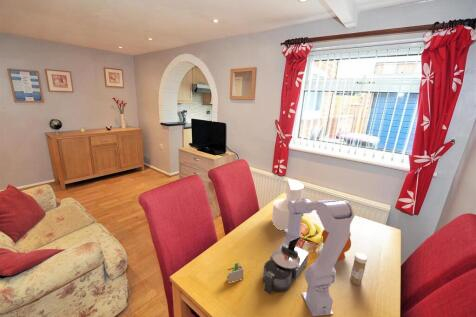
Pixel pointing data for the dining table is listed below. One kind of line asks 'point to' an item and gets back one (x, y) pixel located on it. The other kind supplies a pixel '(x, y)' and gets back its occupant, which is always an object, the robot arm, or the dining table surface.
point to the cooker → (282, 273)
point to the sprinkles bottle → (358, 268)
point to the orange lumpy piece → (346, 247)
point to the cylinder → (280, 205)
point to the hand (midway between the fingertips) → (291, 249)
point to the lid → (286, 257)
